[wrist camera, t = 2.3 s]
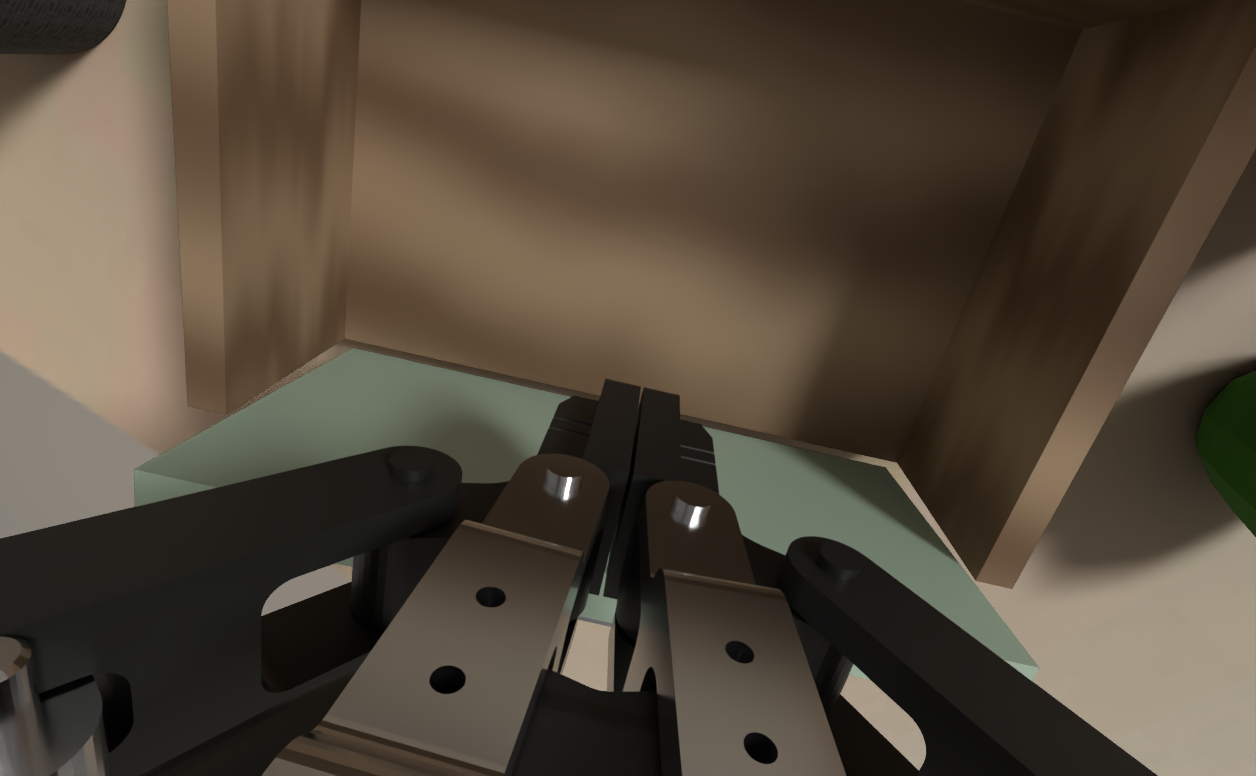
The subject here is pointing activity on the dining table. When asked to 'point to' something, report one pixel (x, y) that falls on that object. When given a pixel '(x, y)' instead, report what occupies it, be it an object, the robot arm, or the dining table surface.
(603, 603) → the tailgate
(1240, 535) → the dining table surface
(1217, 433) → the bell pepper
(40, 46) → the coffee cup
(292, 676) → the robot arm
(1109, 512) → the dining table surface
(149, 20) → the dining table surface
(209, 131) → the box
